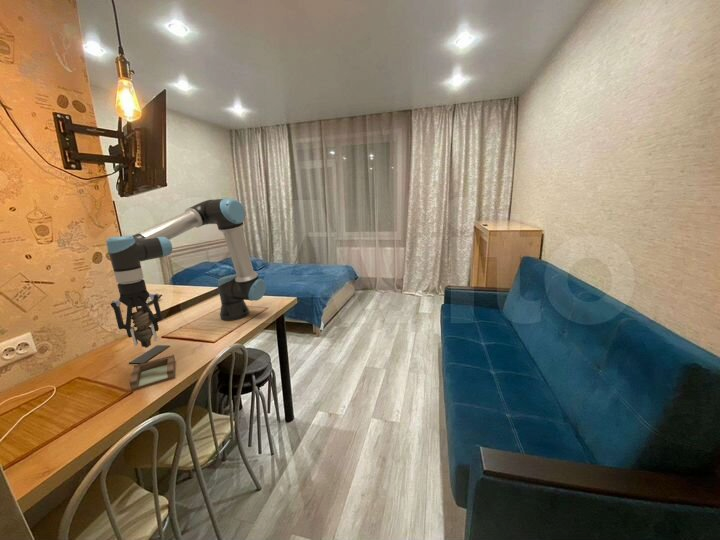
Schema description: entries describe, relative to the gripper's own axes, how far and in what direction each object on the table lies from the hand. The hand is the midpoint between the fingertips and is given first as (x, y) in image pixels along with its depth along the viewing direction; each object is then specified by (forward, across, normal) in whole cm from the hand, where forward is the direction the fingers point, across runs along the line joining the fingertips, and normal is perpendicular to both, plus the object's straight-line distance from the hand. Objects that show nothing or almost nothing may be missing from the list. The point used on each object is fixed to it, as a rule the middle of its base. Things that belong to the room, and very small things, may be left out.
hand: (146, 341), depth 106 cm
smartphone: (+15, +3, -21) cm, 26 cm away
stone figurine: (+2, 0, 0) cm, 2 cm away
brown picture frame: (+14, 0, 0) cm, 14 cm away
